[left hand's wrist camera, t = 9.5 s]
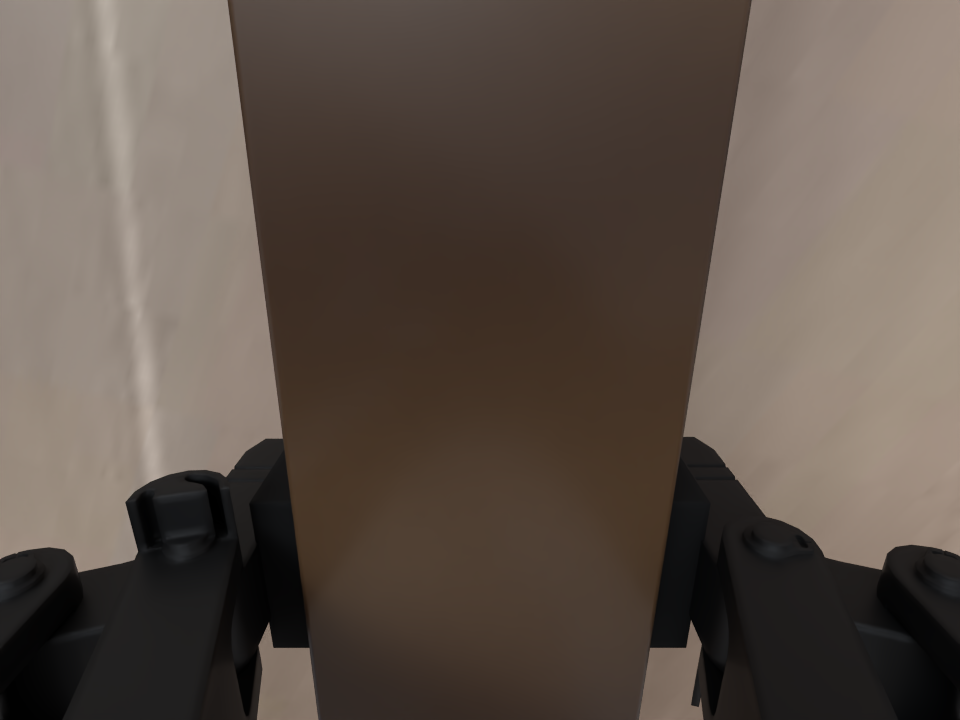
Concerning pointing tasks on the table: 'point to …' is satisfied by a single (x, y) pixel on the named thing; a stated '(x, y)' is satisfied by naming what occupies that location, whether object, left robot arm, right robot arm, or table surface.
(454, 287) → the beam
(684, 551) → the left robot arm
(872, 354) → the table surface
